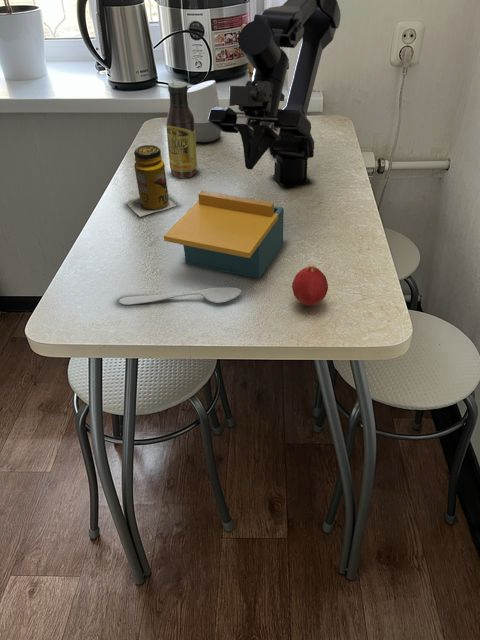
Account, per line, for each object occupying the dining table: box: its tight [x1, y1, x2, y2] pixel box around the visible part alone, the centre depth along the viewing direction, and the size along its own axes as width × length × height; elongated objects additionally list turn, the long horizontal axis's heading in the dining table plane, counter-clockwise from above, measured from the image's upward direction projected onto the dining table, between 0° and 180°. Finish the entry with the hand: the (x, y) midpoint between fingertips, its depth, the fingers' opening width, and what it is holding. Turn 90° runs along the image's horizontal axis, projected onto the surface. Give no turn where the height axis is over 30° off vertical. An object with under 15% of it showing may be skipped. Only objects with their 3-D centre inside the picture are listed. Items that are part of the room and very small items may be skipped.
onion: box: [291, 264, 329, 307], centre depth 94 cm, size 6×6×8 cm
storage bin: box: [183, 205, 285, 280], centre depth 106 cm, size 13×15×8 cm
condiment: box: [125, 144, 177, 218], centre depth 120 cm, size 7×8×12 cm
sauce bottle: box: [165, 80, 198, 179], centre depth 128 cm, size 7×6×20 cm
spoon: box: [118, 287, 242, 306], centre depth 98 cm, size 4×21×2 cm, turn 92°
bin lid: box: [163, 190, 278, 258], centre depth 100 cm, size 14×16×3 cm
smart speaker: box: [187, 79, 222, 144], centre depth 146 cm, size 10×9×14 cm
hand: (248, 168), depth 105 cm, fingers closed
